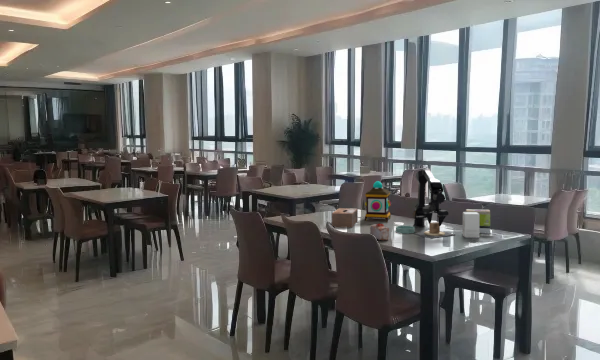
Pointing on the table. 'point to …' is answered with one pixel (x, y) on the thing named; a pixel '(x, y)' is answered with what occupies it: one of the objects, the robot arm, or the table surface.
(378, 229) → the food item
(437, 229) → the lid
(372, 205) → the decorative lantern
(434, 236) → the mat
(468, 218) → the supplement box
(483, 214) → the tea box
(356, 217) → the tissue box cover
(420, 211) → the robot arm
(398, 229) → the bowl
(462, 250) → the table surface
